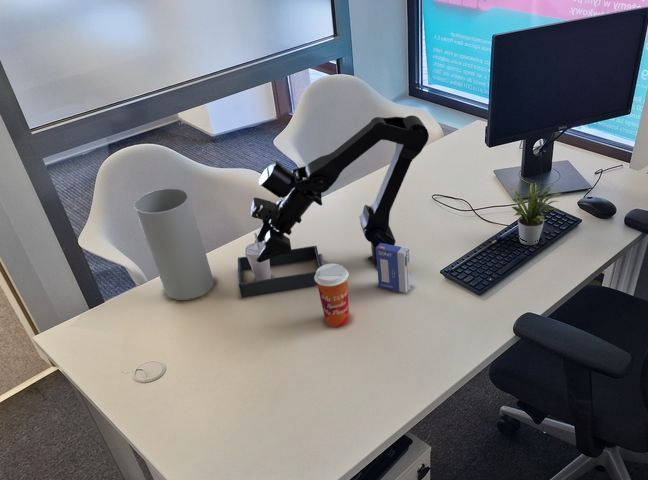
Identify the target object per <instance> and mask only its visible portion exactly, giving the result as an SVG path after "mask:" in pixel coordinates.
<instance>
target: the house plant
mask: <svg viewBox="0 0 648 480" xmlns="http://www.w3.org/2000/svg"><path fill="white" fill-rule="evenodd" d="M553 186H554V184H553V183H552V184H550V185H549V186H548V187H547V188H546V189H545V190H544V192H543V193H542V194H541V195H540V197H538V196H539V193H540V192H541V190H539V189H538V184H537V182H534V183H533V182H530V185H529V190H528V198H527V206H526V203H525V201H524V199H523V197H522V195H521V194H520V193H519V192H518V191H516V190H515V189H513V188H511V187H510V190H512V192H513V193H514V194H515V196H516V197H517V198H518V199H517V198H515V200H516V203H517V206H511V209H512V210H514V211H516V213H515V214H514V215H513V217H515V216H519V217H518V218H517V225H518V237H519V236H520V237H519V242H520V243H521V244H523V245H526V246H535V245H537V244H538V243H539V240H540V237H541V234H542V231H543V228H544V225H545V216H546V215H547V214H548V213H550V212H552V211H555V210H559V208H558V207H554V208H553V207H550V206H549V205H550V204H552V203H558V202H560V201H559V200H551V201H549V200H550V199H552V198H554V197H556V196H558V195H559V196H560V195H562V193H559V192H558V193H557V192H556V193H553V194H551V195H549V196H547V195H548V194H549V192H551V188H552V187H553ZM546 196H547V197H546ZM538 198H539V199H538ZM548 201H549V202H548ZM546 202H547V203H546ZM543 205H544V206H543ZM542 206H543V207H542ZM541 208H542V209H541ZM545 211H546V212H545ZM543 212H545V213H543ZM542 213H543V214H542ZM540 214H542V215H540ZM520 238H521V239H523V240H525V241H527V242H525V241H522V240H521V239H520ZM537 240H538V241H537ZM535 241H536V242H535Z"/></svg>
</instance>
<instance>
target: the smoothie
mask: <svg viewBox="0 0 648 480" xmlns="http://www.w3.org/2000/svg"><path fill="white" fill-rule="evenodd" d="M253 235H254V239H255V240H256V243H255V242H252V243H250V244H248V245H246V246H245V248H244V250H243V251H244V252H243V253H244V257H247V258H248V261H249V263H250V265H251V268H252V273H253V275H254V278H255V281H260V280H266V279H272V275H271V267H270V260H269V259H268V260H266V261H263V262H261V263H259V262H257V258H258V256H259V254H260V252H261V251H262V249H263V247H264V245H265V242H264V241H263V242H258V238H257V235H258V233H257V232H254V233H253Z"/></svg>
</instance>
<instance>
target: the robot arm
mask: <svg viewBox="0 0 648 480" xmlns="http://www.w3.org/2000/svg"><path fill="white" fill-rule="evenodd" d="M429 135H430V134H429V131H428V129H427V127H426V126H425V124H424V123H423V122H422V119H420V118H419V117H418V116H417V115H413V114H412V115H407V116H405V117H403V116H390V117H382V116H381V117H380V116H376V117H373V118H372V119H371V120H370V122H369V123H367V124H366V125H365V126H364V127H362V128H361V129H360V130H358V131H357V132H355V134H354V135H352V136H350V138H349V139H347V140H346V141H345V142H343V143H342V144H341V145H340V146H338V147H337V148H336V149H335V150H333V151H332V152H330V153H328V154H325V155H322V156H321V155H320V156H319V157H317V158H316V159H314V160H312V161H310V162H308V163H307V165H304V166H301V167H297V168H293V169H292V170H291V171H290V169H287V168H286V167H285V166H284V165H283V164H282V163H280V162H279V161H278V160H275V161H274V162H273V163H271V164H270V165H268V166H267V167H265V168H264V170H263V172H262V173H261V175H260V177H259V180H258V185H259V186H261V187H262V188H264V189H265V190H267V191H268V192H270V193H271V194H273V195H274V196H276V197H277V198H280V199H278V200H277V202H273V201H271V200H267V199H263V198H260V197H253V199H252V203H251V207H250V216H251V217H252V218H254V219H258V220H261V221H262V222H261V225H260V228H259V230H258V232H257V238H258V242H263V243H265V245H264V247H263V249H262V251H261V252H260V254H259V256H258V258H257V262H259V263H261V262H263V261H266V260H268V259H270V258H273V257H276V256H279V255H288V254H289V252H290V251H291V249H292V244H291V238H289V237H288V236H290V235H291V234H292V228H294V227H295V225H296V224H297V223H298V224H300V223H301V222H302V217H303V215H304V214H305V213H306V211H307V210H309V208H310V207H311V205H312V204H313V203H315V204H317V205H319V206H321V207H322V206H323V201H322V200H323V199H322V197H323V196H322V194H323V193H325V192H327V191H328V190H330V188H331V187H332V186H333V185H334V184H335V183H336V181H337V180H338V178H339V177H340V175H341V174H342V172H343V171H344V170H345V169H346V168H347V167H349V166H350V165H351V164H353V163H354V162H355V161H356V160H358V159H359V158H360V157H362V155H364V154H366V152H368V151H369V150H370V149H372V147H374V146H376V144H378V143H379V142H381V141H388V142H391V143H395V150H394V154H393V156H392V159H391V161H390V163H389V166H388V168H387V170H386V173H385V175H384V178H383V181H382V183H381V184H380V185H381V186H380V188H379V190H378V192H377V195H376V197H375V199H374V202H373V203H371V204H370V205H368V204H364V206H363V210H362V213H361V214H360V215H359V220H360V227H361V230H362V232H363V235H364V237H365V240H366V241H367V242H369V243H370V247H371V248H370V249H371V256H368V257H367V261H369V262H370V263H371V264H372V265H373V266H375V267H376V268H377V260H376V247H377V246H378V245H379V244H380V243H384V244H389V245H394V246H396V241H397V240H396V238H395V236H394V234H393V230H392V228H391V227H390V216H391V215H390V214H391V210H392V207H393V206H394V203H395V201H396V198H397V196H398V194H399V192H400V189H401V187H402V185H403V183H404V180H405V178H406V176H407V173H408V171H409V169H410V166H411V164H412V163H413V160H414V159H416V158H417V157H418V156H419V155H420V154H421V153H422V151H423V150H424V148H425V146H426V145H427V143H428V141H429V139H430V138H429V137H430V136H429ZM304 178H305V179H304ZM285 234H286V235H287V236H286V235H285ZM254 243H256V239H255V240H254Z"/></svg>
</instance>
